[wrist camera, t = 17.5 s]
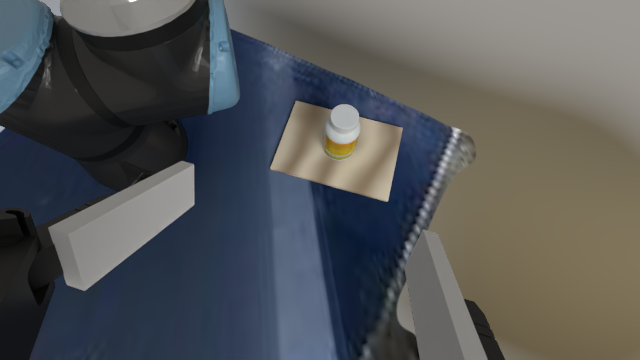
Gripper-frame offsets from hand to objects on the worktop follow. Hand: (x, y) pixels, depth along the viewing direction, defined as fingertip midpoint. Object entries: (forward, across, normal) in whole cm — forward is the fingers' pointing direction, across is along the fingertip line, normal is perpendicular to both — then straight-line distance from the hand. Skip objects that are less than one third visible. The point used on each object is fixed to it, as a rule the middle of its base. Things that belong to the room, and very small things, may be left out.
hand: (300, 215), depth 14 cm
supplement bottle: (+30, 0, -5) cm, 31 cm away
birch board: (+31, 0, -6) cm, 31 cm away
